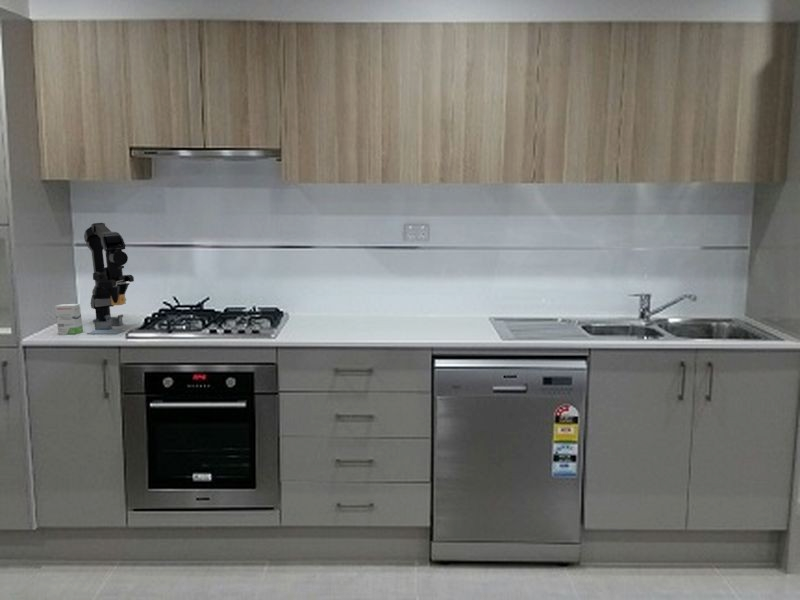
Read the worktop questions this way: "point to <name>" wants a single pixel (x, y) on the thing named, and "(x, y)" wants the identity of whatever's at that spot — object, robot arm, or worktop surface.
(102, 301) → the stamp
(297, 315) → the worktop surface
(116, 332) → the mat
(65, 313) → the ink box
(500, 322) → the worktop surface
